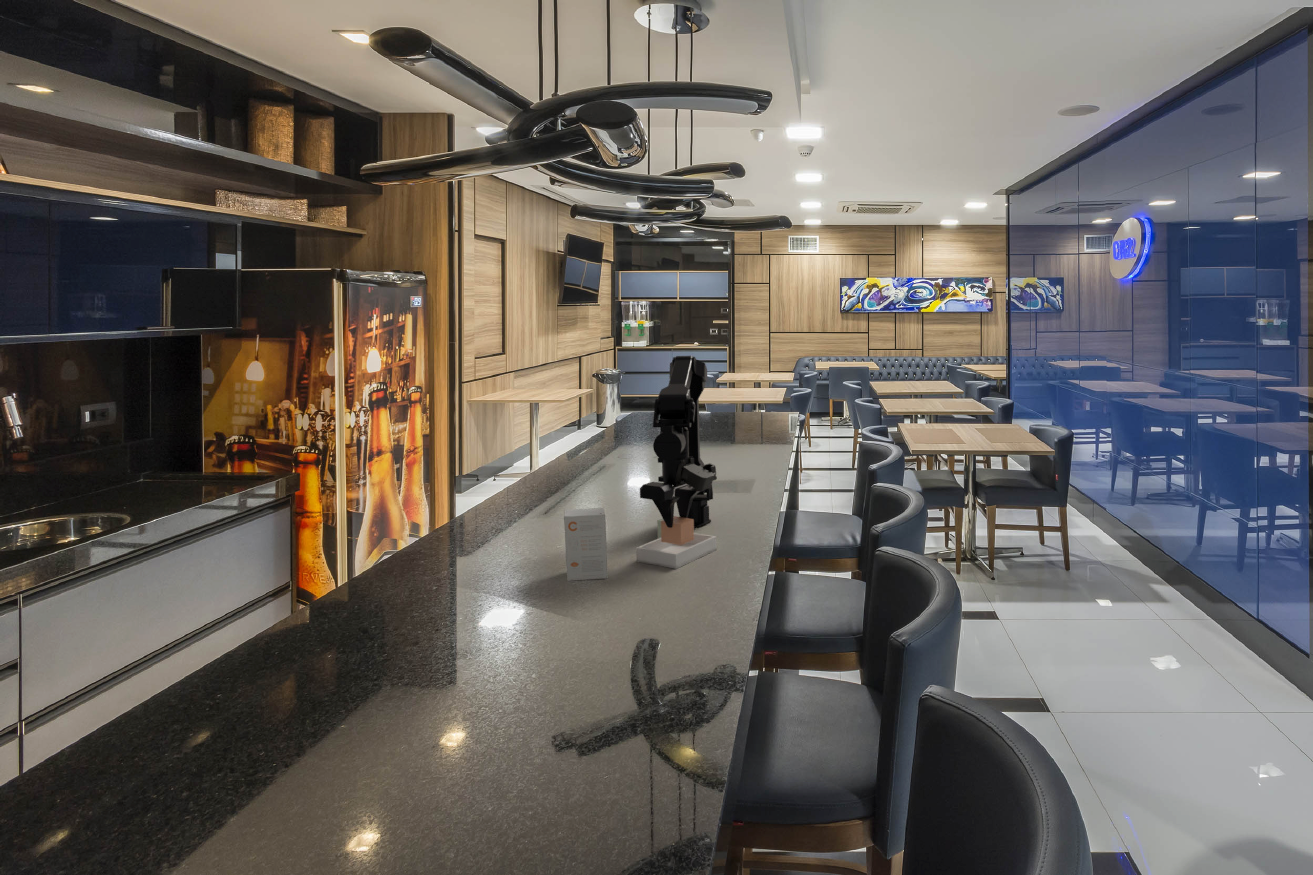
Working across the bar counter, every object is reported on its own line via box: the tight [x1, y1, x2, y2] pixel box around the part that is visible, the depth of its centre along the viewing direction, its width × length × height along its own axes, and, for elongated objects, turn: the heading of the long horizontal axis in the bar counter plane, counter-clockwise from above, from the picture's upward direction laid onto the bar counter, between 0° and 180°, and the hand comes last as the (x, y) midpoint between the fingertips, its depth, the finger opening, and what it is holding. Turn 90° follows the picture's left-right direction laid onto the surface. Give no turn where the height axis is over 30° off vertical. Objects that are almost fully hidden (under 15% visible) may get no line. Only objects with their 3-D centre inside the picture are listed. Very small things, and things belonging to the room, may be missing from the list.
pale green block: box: [657, 518, 663, 539], centre depth 189 cm, size 5×5×4 cm
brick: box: [661, 515, 695, 545], centre depth 174 cm, size 5×5×4 cm
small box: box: [563, 507, 609, 582], centre depth 162 cm, size 8×6×13 cm
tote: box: [635, 532, 718, 570], centre depth 175 cm, size 10×16×3 cm, turn 145°
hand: (676, 524), depth 174 cm, fingers closed on brick, 5 cm apart
